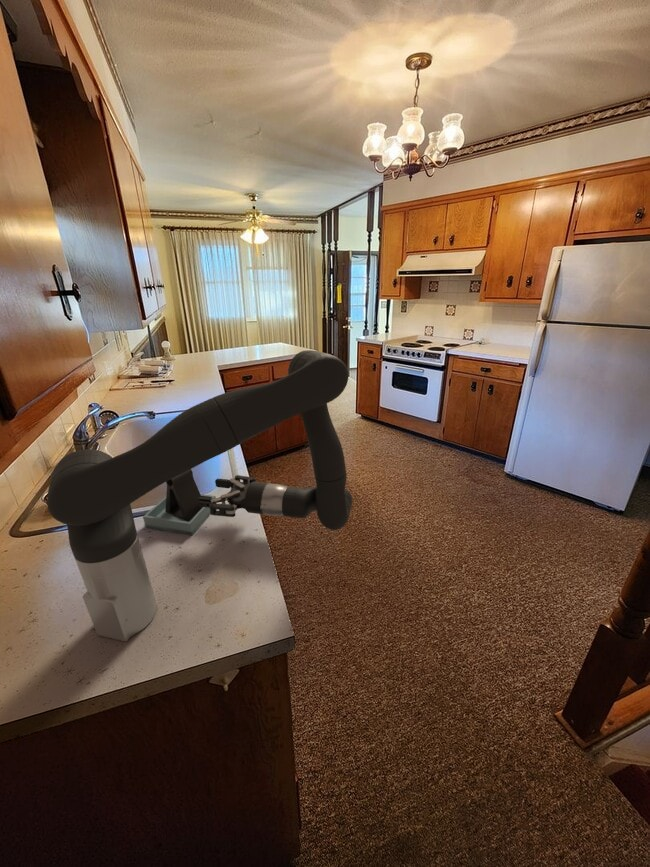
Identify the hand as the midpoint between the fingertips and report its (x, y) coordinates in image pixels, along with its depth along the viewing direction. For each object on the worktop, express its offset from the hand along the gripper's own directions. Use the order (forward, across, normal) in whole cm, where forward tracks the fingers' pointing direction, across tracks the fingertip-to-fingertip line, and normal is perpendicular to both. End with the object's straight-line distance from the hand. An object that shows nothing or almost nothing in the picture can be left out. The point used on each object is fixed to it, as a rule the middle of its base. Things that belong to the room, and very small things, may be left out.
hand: (207, 491), depth 87 cm
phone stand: (+8, -1, +8) cm, 12 cm away
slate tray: (+9, 0, +9) cm, 13 cm away
